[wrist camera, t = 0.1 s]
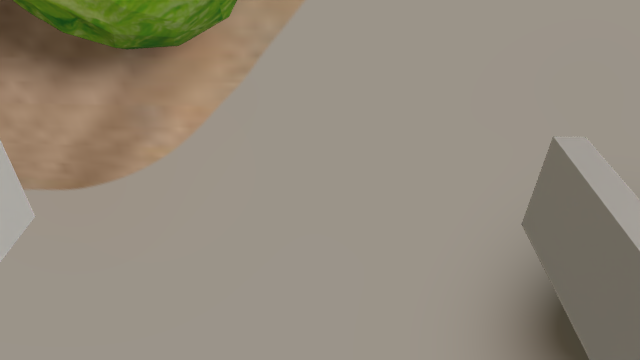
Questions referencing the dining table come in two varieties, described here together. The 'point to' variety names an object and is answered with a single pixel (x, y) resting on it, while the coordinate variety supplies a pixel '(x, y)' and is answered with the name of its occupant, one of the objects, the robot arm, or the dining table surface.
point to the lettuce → (131, 19)
